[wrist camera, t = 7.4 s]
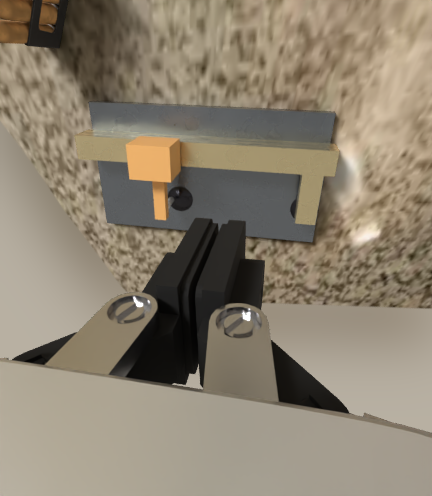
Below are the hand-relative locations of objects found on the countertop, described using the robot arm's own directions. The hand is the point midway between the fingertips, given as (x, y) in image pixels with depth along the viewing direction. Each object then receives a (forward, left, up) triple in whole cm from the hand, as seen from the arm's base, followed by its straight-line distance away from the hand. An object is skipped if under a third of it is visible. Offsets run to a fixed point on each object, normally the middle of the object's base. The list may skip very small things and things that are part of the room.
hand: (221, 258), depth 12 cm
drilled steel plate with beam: (+6, +6, -27) cm, 29 cm away
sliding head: (+10, +6, -26) cm, 28 cm away
